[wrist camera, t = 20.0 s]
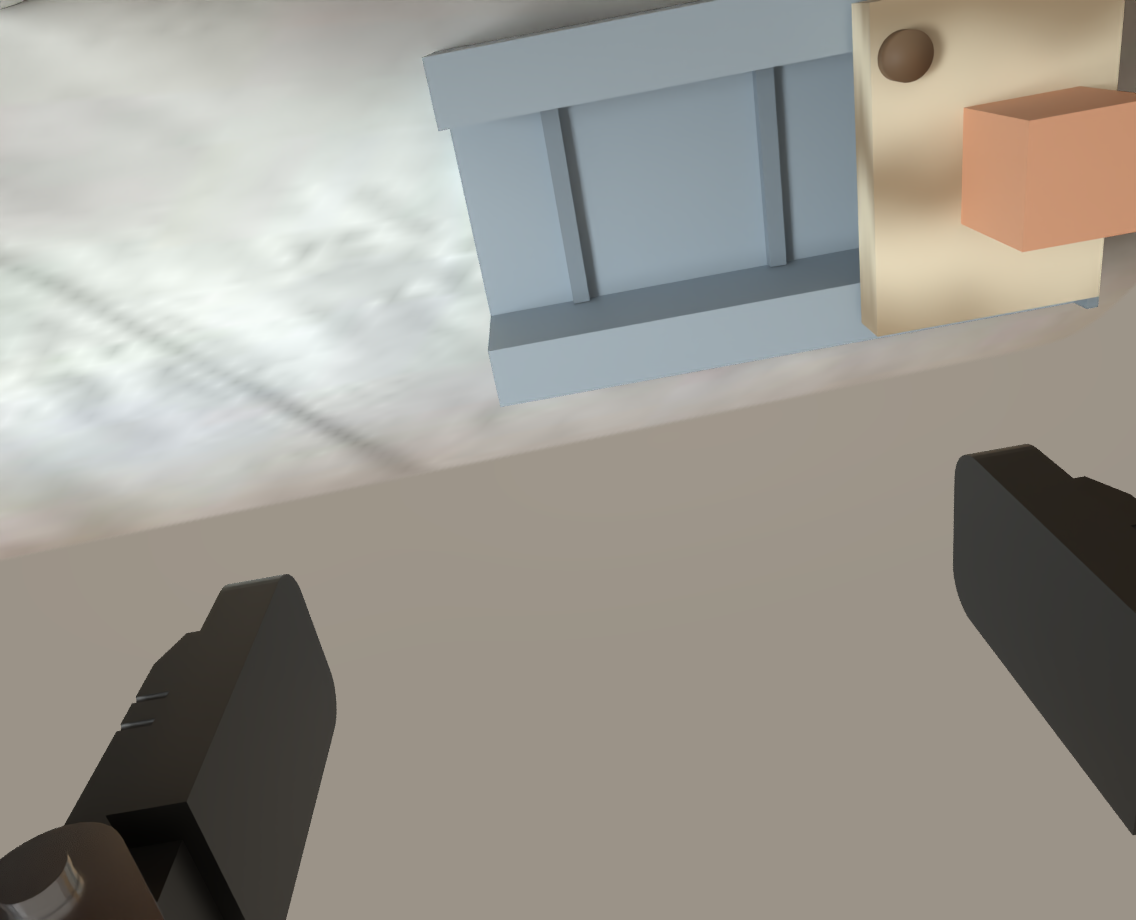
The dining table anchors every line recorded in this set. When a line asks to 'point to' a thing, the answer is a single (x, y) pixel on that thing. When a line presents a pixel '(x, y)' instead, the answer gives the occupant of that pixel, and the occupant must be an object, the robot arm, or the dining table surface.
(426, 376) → the dining table surface
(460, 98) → the stand
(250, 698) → the robot arm
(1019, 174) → the block
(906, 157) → the lid
